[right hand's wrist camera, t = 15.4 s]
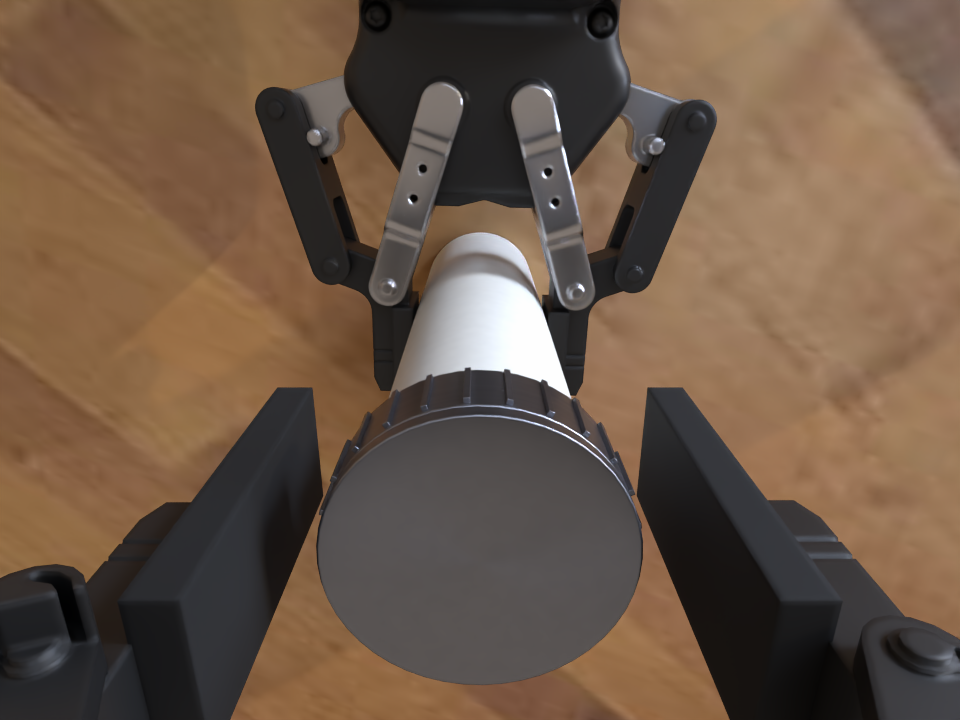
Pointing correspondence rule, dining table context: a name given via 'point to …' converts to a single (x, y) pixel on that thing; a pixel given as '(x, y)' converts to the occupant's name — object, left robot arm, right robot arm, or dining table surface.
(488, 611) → the lid
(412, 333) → the jar
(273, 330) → the dining table surface
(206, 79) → the dining table surface
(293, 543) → the right robot arm
